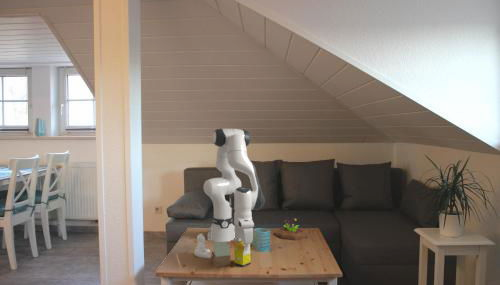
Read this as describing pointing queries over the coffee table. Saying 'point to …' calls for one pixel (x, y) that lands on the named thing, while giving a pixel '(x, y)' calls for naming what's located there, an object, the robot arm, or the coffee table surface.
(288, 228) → the plant
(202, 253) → the white creature statuette
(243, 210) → the robot arm
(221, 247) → the sage block
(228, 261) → the walnut block
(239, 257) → the supplement box
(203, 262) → the coffee table surface
